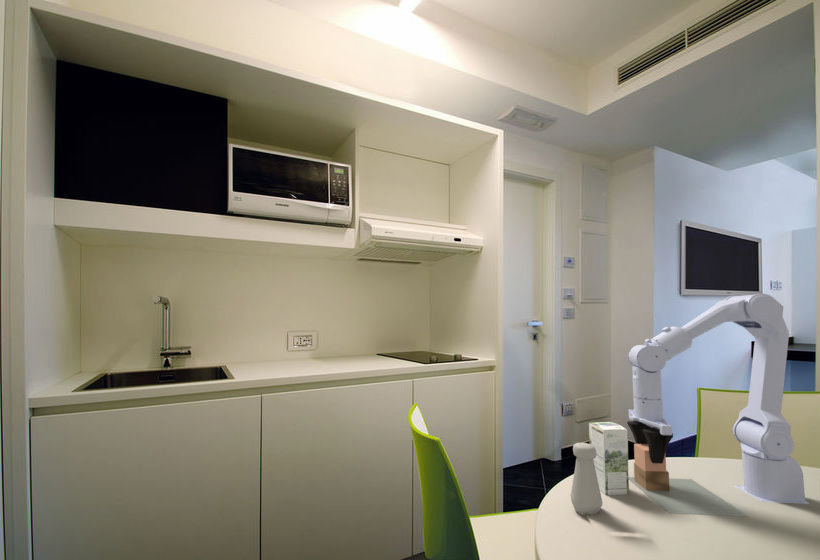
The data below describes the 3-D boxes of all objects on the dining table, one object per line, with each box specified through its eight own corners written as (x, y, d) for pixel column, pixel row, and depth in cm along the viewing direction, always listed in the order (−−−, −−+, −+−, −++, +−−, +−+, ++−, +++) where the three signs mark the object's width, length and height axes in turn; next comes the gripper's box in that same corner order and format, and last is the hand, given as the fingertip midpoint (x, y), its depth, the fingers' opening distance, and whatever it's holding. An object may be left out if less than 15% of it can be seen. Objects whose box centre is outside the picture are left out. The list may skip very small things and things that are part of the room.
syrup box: (612, 485, 89) (610, 420, 91) (630, 497, 84) (627, 428, 85) (589, 486, 89) (587, 421, 90) (606, 498, 83) (603, 428, 84)
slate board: (691, 481, 92) (691, 479, 92) (749, 519, 75) (749, 516, 75) (626, 479, 93) (625, 476, 93) (668, 516, 76) (668, 512, 76)
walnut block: (656, 481, 90) (655, 463, 91) (669, 491, 85) (668, 472, 86) (634, 480, 91) (633, 462, 91) (646, 490, 86) (645, 471, 86)
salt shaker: (596, 505, 80) (594, 440, 81) (607, 520, 74) (605, 449, 75) (566, 503, 80) (565, 439, 81) (575, 518, 75) (574, 448, 76)
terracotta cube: (654, 464, 90) (653, 444, 91) (666, 471, 86) (665, 451, 86) (634, 463, 91) (634, 443, 91) (645, 471, 86) (644, 450, 87)
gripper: (615, 391, 97) (617, 447, 96) (646, 404, 83) (649, 470, 82) (644, 391, 97) (646, 447, 95) (681, 405, 82) (684, 471, 81)
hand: (650, 458), depth 88 cm, fingers open, 5 cm apart
